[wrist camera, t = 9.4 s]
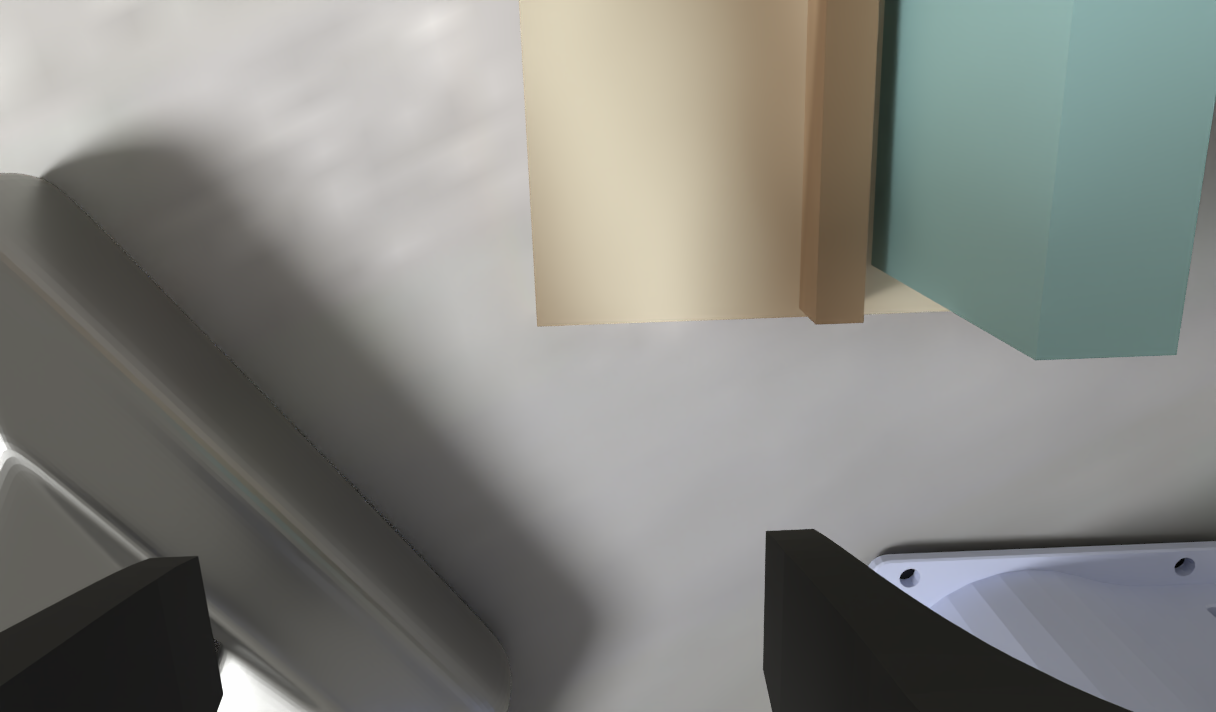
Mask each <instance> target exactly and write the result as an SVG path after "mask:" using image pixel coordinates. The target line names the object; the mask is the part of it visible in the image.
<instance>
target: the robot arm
mask: <svg viewBox="0 0 1216 712" xmlns="http://www.w3.org/2000/svg"><path fill="white" fill-rule="evenodd" d="M1183 558H1185V560H1184V562H1183V564H1182V565H1181V566H1179V567H1177V568H1174V567H1175V565H1176V563H1177V562H1178V561H1179V560H1180V559H1183ZM908 569H915V571H914V574H913V575H912V576H911V577H910V578H907V579H899V578H900V575H901V573H903V572H904V571H905V570H908ZM763 671H764V675H765V680H766V684H767V689H768V694H769V698H770V703H771V707H772V712H1216V541H1207V542H1182V543H1157V544H1132V545H1107V546H1083V547H1058V548H1033V549H1008V550H983V551H958V552H933V553H909V554H886V555H882V556H879V557H877V558H875V559H874V560H872V562H871V563H870V564H869V566H867V565H865V564H864V563H862V562H861V561H860V560H858V559H857V558H855V557H854V556H853V555H851V554H850V553H848V552H847V551H846V550H844V549H843V548H841V547H840V546H839V545H837V544H836V543H834V542H833V541H832V540H830V539H829V538H827V537H826V536H824V535H823V534H821V533H819V532H818V531H816V530H814V529H804V530H781V531H766V555H765V604H764V653H763ZM223 695H224V694H223V688H222V683H221V677H220V672H219V666H218V661H217V655H216V650H215V644H214V639H213V634H212V628H211V623H210V617H209V612H208V606H207V601H206V595H205V590H204V584H203V579H202V573H201V568H200V563H199V557H198V556H184V557H161V558H148V559H146V560H143V561H141V562H138V563H135V564H133V565H131V566H128V567H126V568H124V569H122V570H119V571H117V572H115V573H113V574H111V575H109V576H107V577H105V578H103V579H101V580H99V581H97V582H95V583H93V584H91V585H89V586H87V587H85V588H83V589H81V590H79V591H78V592H76V593H74V594H72V595H70V596H68V597H66V598H64V599H62V600H61V601H59V602H57V603H55V604H53V605H51V606H49V607H47V608H45V609H43V610H42V611H40V612H38V613H36V614H34V615H32V616H30V617H28V618H26V619H25V620H23V621H21V622H19V623H17V624H15V625H13V626H11V627H9V628H8V629H6V630H4V631H2V632H0V712H217V711H218V708H219V705H220V703H221V700H222V697H223Z"/></svg>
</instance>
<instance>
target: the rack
mask: <svg viewBox="0 0 1216 712" xmlns="http://www.w3.org/2000/svg"><path fill="white" fill-rule="evenodd" d="M884 8H885V0H519V10H520V28H521V46H522V63H523V81H524V99H525V116H526V134H527V152H528V170H529V187H530V205H531V223H532V241H533V258H534V276H535V294H536V311H537V326H564V325H591V324H618V323H645V322H672V321H699V320H727V319H754V318H781V317H809V318H810V319H811V320H812V321H813V322H814V323H815V324H841V323H863V321H864V314H889V313H916V312H943V311H950V310H948V309H946V308H945V307H943V306H941V305H940V304H938V303H936V302H934V301H933V300H931V299H929V298H927V297H926V296H924V295H922V294H921V293H919V292H917V291H915V290H914V289H912V288H910V287H909V286H907V285H905V284H903V283H902V282H900V281H898V280H896V279H895V278H893V277H891V276H890V275H888V274H886V273H884V272H883V271H881V270H879V269H878V268H876V267H874V266H872V265H871V261H872V242H873V222H874V203H875V183H876V164H877V144H878V125H879V105H880V86H881V66H882V47H883V27H884Z"/></svg>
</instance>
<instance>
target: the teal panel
mask: <svg viewBox="0 0 1216 712" xmlns="http://www.w3.org/2000/svg"><path fill="white" fill-rule="evenodd" d="M1215 98H1216V0H885V8H884V27H883V47H882V66H881V86H880V105H879V125H878V144H877V164H876V183H875V203H874V222H873V242H872V261H871V265H872V266H874V267H876V268H878V269H879V270H881V271H883V272H884V273H886V274H888V275H890V276H891V277H893V278H895V279H896V280H898V281H900V282H902V283H903V284H905V285H907V286H909V287H910V288H912V289H914V290H915V291H917V292H919V293H921V294H922V295H924V296H926V297H927V298H929V299H931V300H933V301H934V302H936V303H938V304H940V305H941V306H943V307H945V308H946V309H948V310H950V311H952V312H953V313H955V314H957V315H958V316H960V317H962V318H964V319H965V320H967V321H969V322H971V323H972V324H974V325H976V326H977V327H979V328H981V329H983V330H984V331H986V332H988V333H989V334H991V335H993V336H995V337H996V338H998V339H1000V340H1001V341H1003V342H1005V343H1007V344H1008V345H1010V346H1012V347H1014V348H1015V349H1017V350H1019V351H1020V352H1022V353H1024V354H1026V355H1027V356H1029V357H1031V358H1032V359H1034V360H1055V359H1082V358H1108V357H1135V356H1162V355H1176V354H1177V347H1178V340H1179V334H1180V327H1181V321H1182V314H1183V308H1184V301H1185V295H1186V288H1187V282H1188V275H1189V268H1190V262H1191V255H1192V249H1193V242H1194V236H1195V229H1196V223H1197V216H1198V210H1199V203H1200V196H1201V190H1202V183H1203V177H1204V170H1205V164H1206V157H1207V151H1208V144H1209V138H1210V131H1211V124H1212V118H1213V111H1214V105H1215Z"/></svg>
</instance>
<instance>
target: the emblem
mask: <svg viewBox="0 0 1216 712" xmlns="http://www.w3.org/2000/svg"><path fill="white" fill-rule="evenodd" d="M184 556H198V557H199V563H200V568H201V573H202V579H203V584H204V590H205V595H206V601H207V606H208V612H209V617H210V623H211V628H212V634H213V638H214V639H216V640H217V641H219V642H220V646H219V649H218V651H217V654H216V655H217V661H218V666H219V672H220V677H221V683H222V688H223V694H224V695H223V697H222V700H221V703H220V705H219V708H218V711H217V712H507V711H508V707H509V702H510V696H511V669H510V664H509V660H508V658H507V655H506V653H505V651H504V649H503V647H502V646H501V644H500V643H499V642H498V640H497V639H496V638H495V636H494V635H493V634H492V633H491V632H490V630H489V629H488V628H487V627H486V626H485V625H484V624H483V623H482V621H481V620H480V619H479V618H478V617H477V616H476V615H475V614H474V613H473V612H472V611H471V610H470V609H469V608H468V606H467V605H466V604H465V603H464V602H463V601H462V600H461V599H460V598H459V597H458V596H457V595H456V594H455V593H454V592H453V591H452V590H451V589H450V588H449V587H448V586H447V585H446V584H445V582H444V581H443V580H442V579H441V578H440V577H439V576H438V575H437V574H436V573H435V572H434V571H433V570H432V569H431V568H430V567H429V566H428V565H427V564H426V563H425V562H424V561H423V560H422V559H421V558H420V557H419V556H418V555H417V553H416V552H415V551H414V550H413V549H412V548H411V547H410V546H409V545H408V544H407V543H406V542H405V541H404V540H403V539H402V538H401V537H400V536H399V535H398V534H397V533H396V532H395V531H394V530H393V529H392V528H391V527H390V526H389V524H388V523H387V522H386V521H385V520H384V519H383V518H382V517H381V516H380V515H379V514H378V513H377V512H376V511H375V510H374V509H373V508H372V507H371V506H370V505H369V504H368V503H367V502H366V501H365V500H364V499H363V498H362V497H361V495H360V494H359V493H358V492H357V491H356V490H355V489H354V488H353V487H352V486H351V485H350V484H349V483H348V482H347V481H346V480H345V479H344V478H343V477H342V476H341V475H340V474H339V473H338V472H337V471H336V470H335V469H334V468H333V466H332V465H331V464H330V463H329V462H328V461H327V460H326V459H325V458H324V457H323V456H322V455H321V454H320V453H319V452H318V451H317V450H316V449H315V448H314V447H313V446H312V445H311V444H310V443H309V442H308V441H307V440H306V439H305V437H304V436H303V435H302V434H301V433H300V432H299V431H298V430H297V429H296V428H295V427H294V426H293V425H292V424H291V423H290V422H289V421H288V420H287V419H286V418H285V417H284V416H283V415H282V414H281V413H280V412H279V411H278V409H277V408H276V407H275V406H274V405H273V404H272V403H271V402H270V401H269V400H268V399H267V398H266V397H265V396H264V395H263V394H262V393H261V392H260V391H259V390H258V389H257V388H256V387H255V386H254V385H253V384H252V383H251V382H250V380H249V379H248V378H247V377H246V376H245V375H244V374H243V373H242V372H241V371H240V370H239V369H238V368H237V367H236V366H235V365H234V364H233V363H232V362H231V361H230V360H229V359H228V358H227V357H226V356H225V355H224V354H223V353H222V352H221V350H220V349H219V348H218V347H217V346H216V345H215V344H214V343H213V342H212V341H211V340H210V339H209V338H208V337H207V336H206V335H205V334H204V333H203V332H202V331H201V330H200V329H199V328H198V327H197V326H196V325H195V324H194V323H193V322H192V321H191V320H190V319H189V318H188V317H187V316H186V315H185V314H184V313H183V312H182V311H181V310H180V309H179V307H178V306H177V305H176V304H175V303H174V302H173V301H172V300H171V299H170V298H169V297H168V296H167V295H166V294H165V293H164V292H163V291H162V290H161V289H160V288H159V287H158V286H157V285H156V284H155V283H154V282H153V281H152V280H151V279H150V278H149V277H148V276H147V275H146V274H145V273H144V272H143V271H142V270H141V269H140V268H139V267H138V266H137V265H136V264H135V263H134V262H133V261H132V260H131V258H130V257H129V256H128V255H127V254H126V253H125V252H124V251H123V250H122V249H121V248H120V247H119V246H118V245H117V244H116V243H115V242H114V241H113V240H112V239H111V238H110V237H109V236H108V235H107V234H106V233H105V232H104V231H103V230H102V229H101V228H100V227H99V226H98V225H97V224H96V223H95V222H94V221H93V220H92V219H91V218H90V217H89V216H88V215H87V214H86V213H85V212H84V211H83V210H82V209H81V208H80V207H78V206H77V205H76V204H75V203H74V202H73V201H72V200H71V199H70V198H69V197H68V196H67V195H65V194H64V193H63V192H62V191H61V190H59V189H58V188H57V187H56V186H54V185H53V184H51V183H49V182H48V181H45V180H43V179H40V178H37V177H34V176H30V175H25V174H17V173H0V632H2V631H4V630H6V629H8V628H9V627H11V626H13V625H15V624H17V623H19V622H21V621H23V620H25V619H26V618H28V617H30V616H32V615H34V614H36V613H38V612H40V611H42V610H43V609H45V608H47V607H49V606H51V605H53V604H55V603H57V602H59V601H61V600H62V599H64V598H66V597H68V596H70V595H72V594H74V593H76V592H78V591H79V590H81V589H83V588H85V587H87V586H89V585H91V584H93V583H95V582H97V581H99V580H101V579H103V578H105V577H107V576H109V575H111V574H113V573H115V572H117V571H119V570H122V569H124V568H126V567H128V566H131V565H133V564H135V563H138V562H141V561H143V560H146V559H148V558H161V557H184Z"/></svg>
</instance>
